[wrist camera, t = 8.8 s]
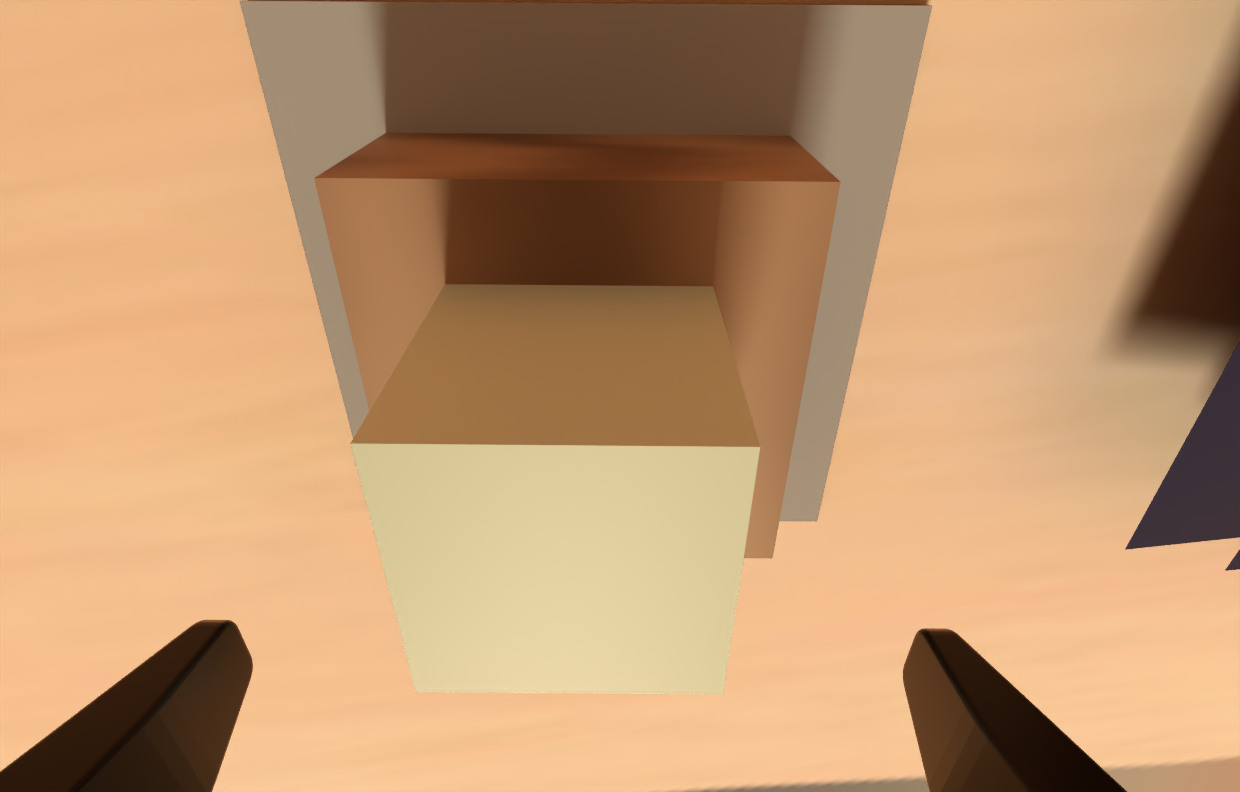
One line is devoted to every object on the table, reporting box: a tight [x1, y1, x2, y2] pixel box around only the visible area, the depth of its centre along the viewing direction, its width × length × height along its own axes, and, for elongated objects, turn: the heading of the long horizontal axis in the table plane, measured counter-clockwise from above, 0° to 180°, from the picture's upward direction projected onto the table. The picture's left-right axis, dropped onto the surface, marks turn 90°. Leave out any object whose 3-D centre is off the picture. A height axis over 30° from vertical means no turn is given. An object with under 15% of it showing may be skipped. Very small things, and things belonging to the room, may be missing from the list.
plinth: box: [314, 133, 841, 558], centre depth 15 cm, size 9×9×4 cm
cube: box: [350, 284, 760, 694], centre depth 11 cm, size 5×5×5 cm
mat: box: [240, 1, 932, 521], centre depth 17 cm, size 14×14×1 cm
